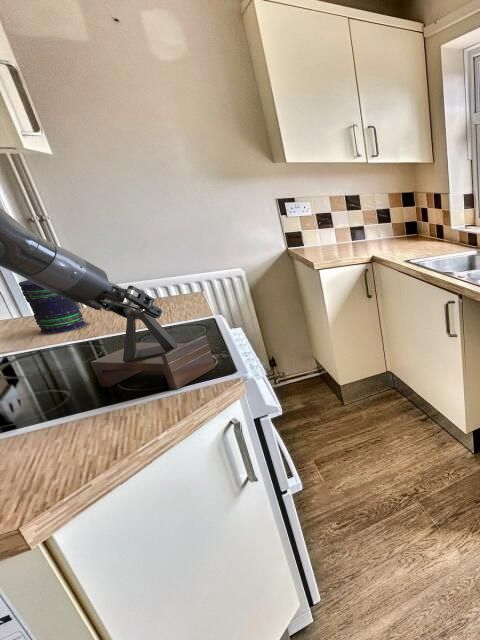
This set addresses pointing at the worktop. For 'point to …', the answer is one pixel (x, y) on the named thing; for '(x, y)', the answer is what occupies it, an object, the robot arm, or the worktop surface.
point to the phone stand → (154, 327)
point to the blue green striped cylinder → (51, 309)
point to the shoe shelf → (158, 364)
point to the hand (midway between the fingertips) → (144, 314)
